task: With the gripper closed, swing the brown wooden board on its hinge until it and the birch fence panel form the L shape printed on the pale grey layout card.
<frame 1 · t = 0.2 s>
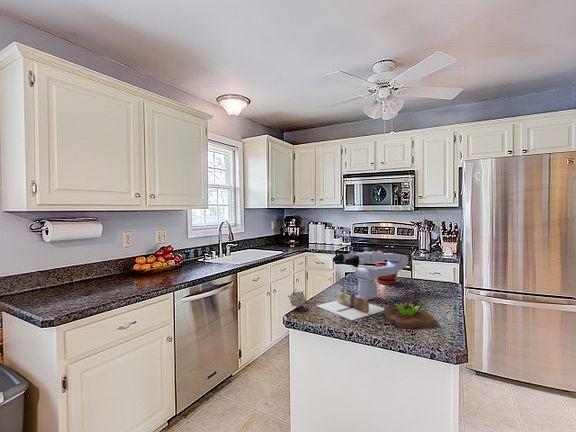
hand: (339, 260, 149), 21 cm above the countertop, tool horizontal, fingers open, 7 cm apart
layout card: (350, 308, 145), on the countertop
plant pot: (386, 282, 193), on the countertop
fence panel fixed: (352, 307, 145), resting on layout card
plant: (407, 320, 131), on the countertop
game die: (297, 307, 146), on the countertop
brown wooden board: (361, 304, 140), point 3 cm above the countertop, hinge at 0.0°
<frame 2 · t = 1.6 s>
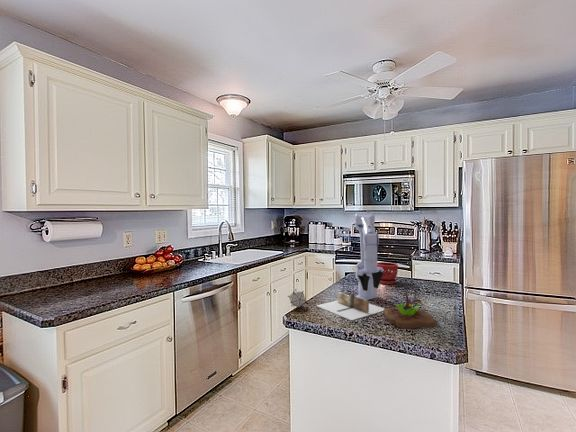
hand: (370, 289, 143), 9 cm above the countertop, tool pointing down, fingers open, 7 cm apart
nothing on the countertop moved.
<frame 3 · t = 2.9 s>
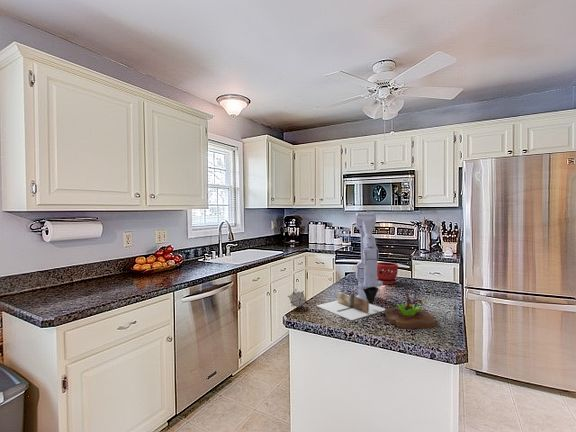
hand: (370, 303, 143), 3 cm above the countertop, tool pointing down, fingers closed
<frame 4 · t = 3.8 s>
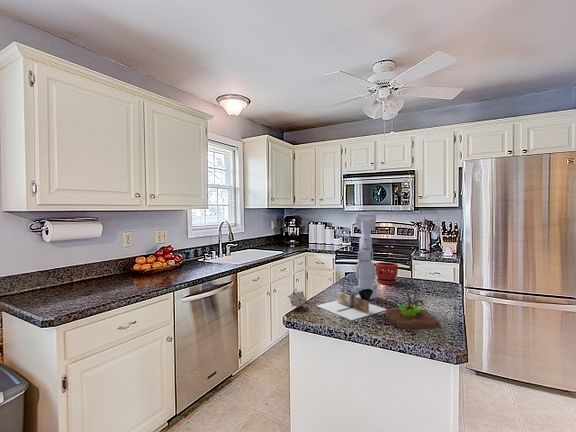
hand: (365, 305, 141), 2 cm above the countertop, tool pointing down, fingers closed
brown wooden board: (361, 304, 140), point 3 cm above the countertop, hinge at 0.0°, touching gripper
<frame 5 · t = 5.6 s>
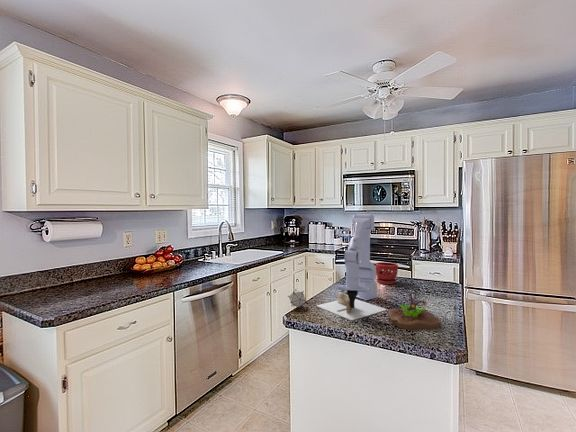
hand: (352, 307, 139), 2 cm above the countertop, tool pointing down, fingers closed
plant: (411, 321, 129), on the countertop
brown wooden board: (349, 304, 140), point 3 cm above the countertop, hinge at 59.3°, touching gripper
everything else where it was.
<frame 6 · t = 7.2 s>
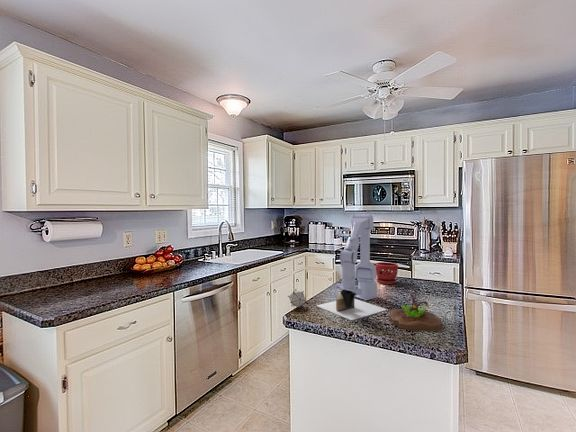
hand: (348, 307, 138), 2 cm above the countertop, tool pointing down, fingers closed
brown wooden board: (343, 303, 142), point 3 cm above the countertop, hinge at 93.6°
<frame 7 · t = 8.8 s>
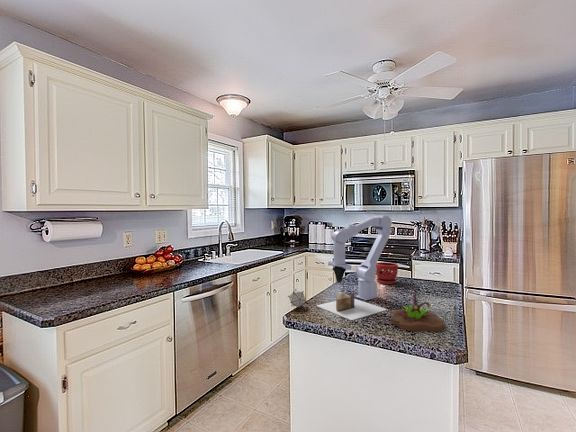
hand: (339, 281, 157), 9 cm above the countertop, tool pointing down, fingers closed
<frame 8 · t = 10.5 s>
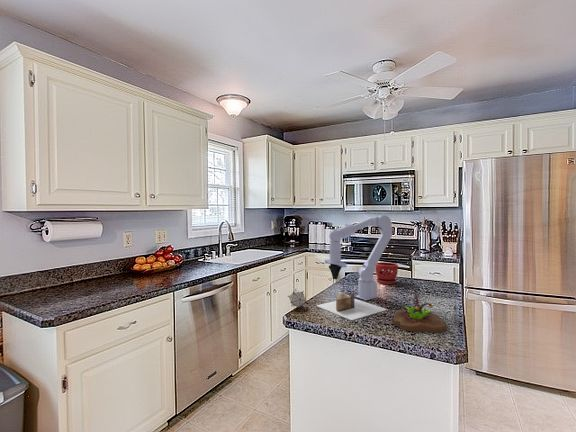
hand: (335, 279, 163), 9 cm above the countertop, tool pointing down, fingers closed
at the end: brown wooden board at +94° (first picture: +0°); game die moved 0.2 cm from its start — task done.
